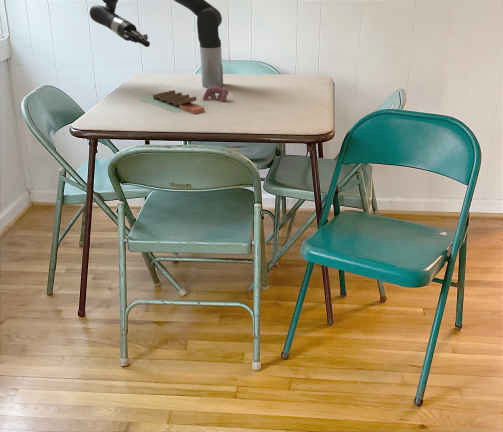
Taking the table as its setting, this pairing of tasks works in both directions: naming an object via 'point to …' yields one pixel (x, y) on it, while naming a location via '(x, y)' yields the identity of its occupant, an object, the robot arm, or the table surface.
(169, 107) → the felt mat
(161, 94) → the domino
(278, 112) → the table surface
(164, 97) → the domino
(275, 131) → the table surface
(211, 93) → the video game controller
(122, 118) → the table surface
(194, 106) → the domino
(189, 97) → the domino
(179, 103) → the domino
